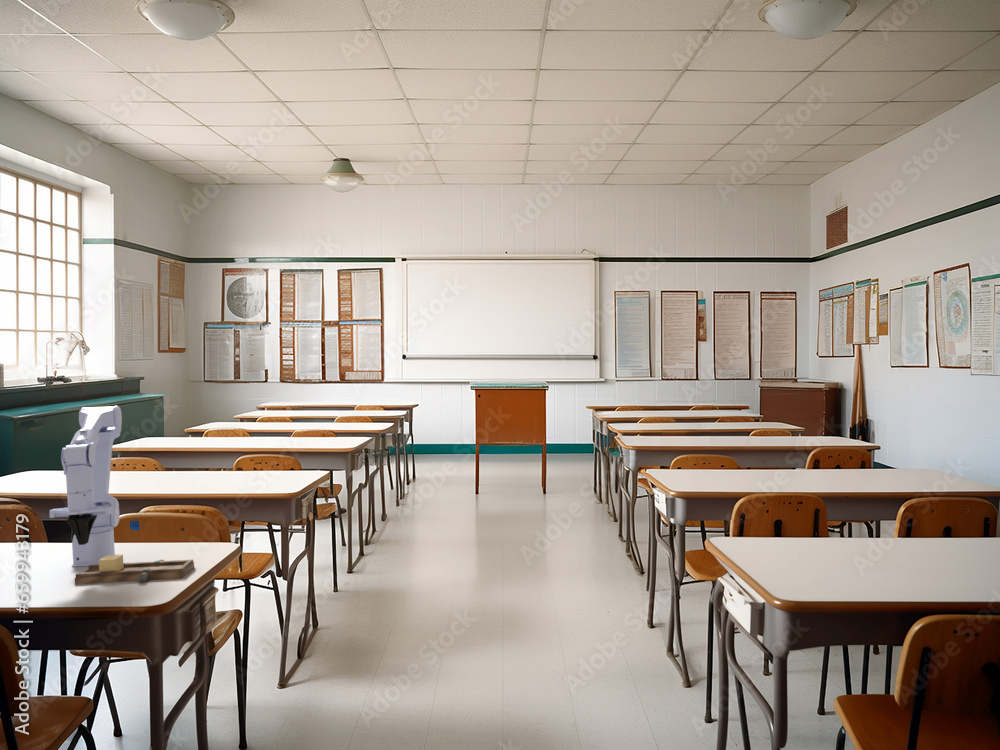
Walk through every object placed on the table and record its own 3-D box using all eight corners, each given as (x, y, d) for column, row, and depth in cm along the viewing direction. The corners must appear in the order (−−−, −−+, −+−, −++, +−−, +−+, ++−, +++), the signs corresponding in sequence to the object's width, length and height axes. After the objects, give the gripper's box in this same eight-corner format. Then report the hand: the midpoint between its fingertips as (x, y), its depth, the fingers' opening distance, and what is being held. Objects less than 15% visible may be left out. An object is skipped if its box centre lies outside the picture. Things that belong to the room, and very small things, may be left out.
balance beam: (70, 586, 162) (70, 576, 162) (95, 570, 174) (95, 561, 173) (179, 580, 164) (178, 570, 164) (196, 565, 176) (196, 555, 176)
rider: (99, 573, 166) (98, 560, 166) (107, 568, 170) (106, 555, 170) (115, 572, 166) (115, 559, 166) (123, 567, 170) (122, 554, 170)
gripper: (40, 496, 162) (44, 550, 163) (101, 493, 163) (105, 546, 164) (57, 489, 169) (60, 541, 170) (116, 487, 170) (119, 538, 171)
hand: (83, 543), depth 167 cm, fingers closed
